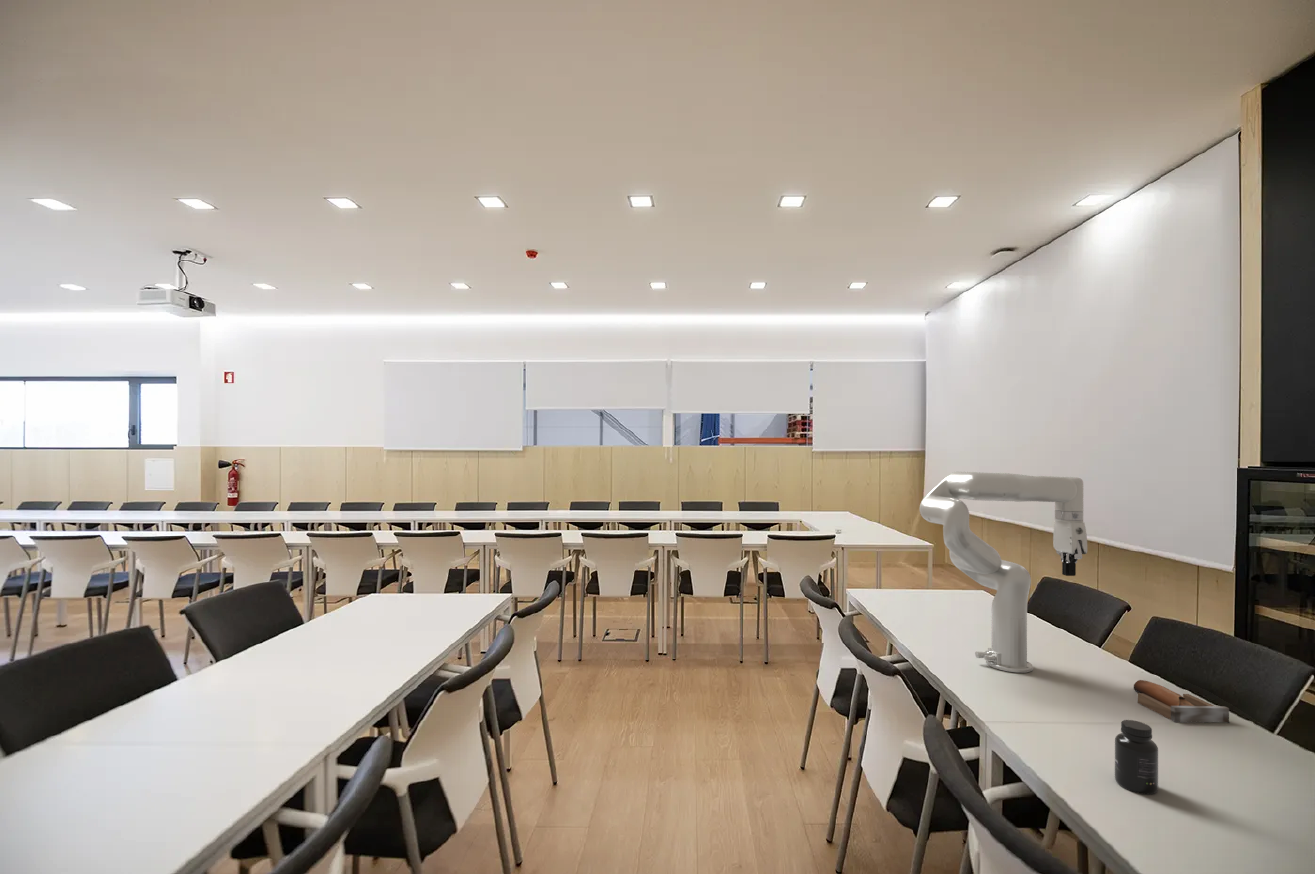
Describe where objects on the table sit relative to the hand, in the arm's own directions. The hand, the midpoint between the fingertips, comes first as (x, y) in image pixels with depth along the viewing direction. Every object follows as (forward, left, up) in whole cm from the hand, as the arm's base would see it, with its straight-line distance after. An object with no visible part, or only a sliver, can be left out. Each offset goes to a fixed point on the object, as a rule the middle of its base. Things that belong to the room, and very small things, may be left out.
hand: (1068, 575), depth 198 cm
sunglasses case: (+5, -32, -28) cm, 43 cm away
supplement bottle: (-35, -73, -27) cm, 85 cm away
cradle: (+4, -37, -27) cm, 46 cm away
